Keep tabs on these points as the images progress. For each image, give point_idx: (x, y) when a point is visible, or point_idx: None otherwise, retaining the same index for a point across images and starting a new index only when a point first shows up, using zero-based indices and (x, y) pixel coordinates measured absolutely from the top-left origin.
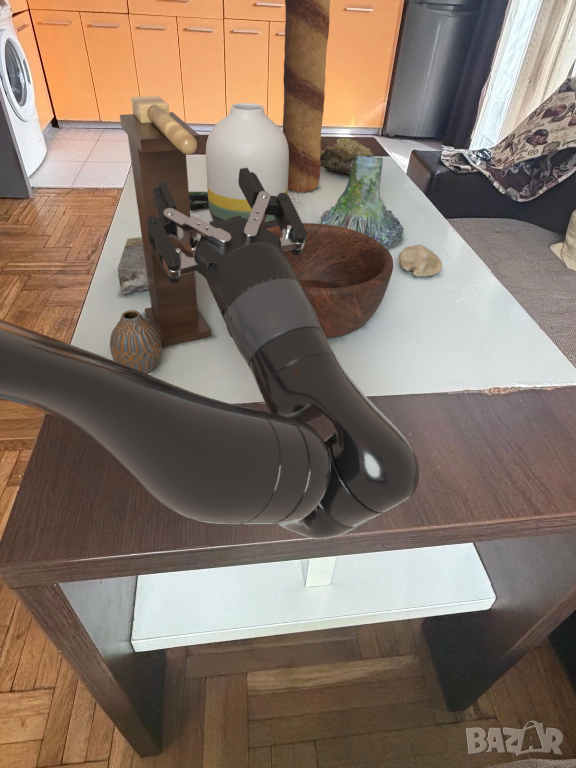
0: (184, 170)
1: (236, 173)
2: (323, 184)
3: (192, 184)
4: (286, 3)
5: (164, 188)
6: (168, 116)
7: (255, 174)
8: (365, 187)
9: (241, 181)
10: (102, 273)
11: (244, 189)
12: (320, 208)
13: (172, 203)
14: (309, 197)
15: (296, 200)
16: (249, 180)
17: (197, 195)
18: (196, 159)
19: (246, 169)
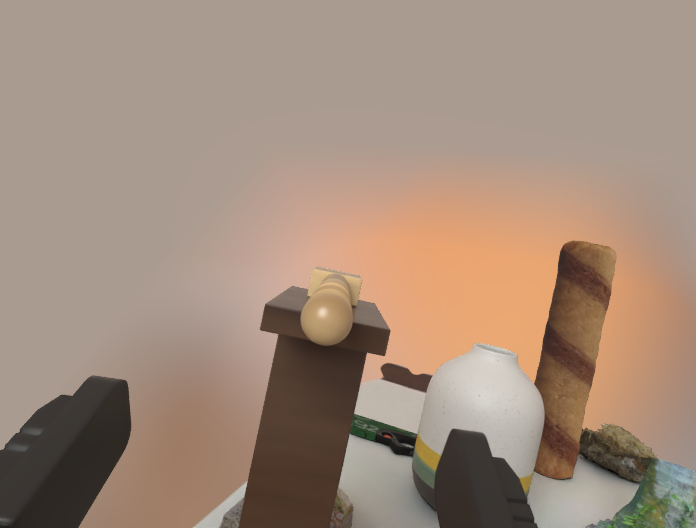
0: (352, 393)
1: (461, 426)
2: (579, 475)
3: (408, 421)
4: (559, 269)
5: (81, 409)
6: (338, 280)
7: (515, 473)
8: (673, 514)
9: (446, 481)
10: (222, 505)
11: (450, 523)
12: (577, 513)
13: (17, 498)
14: (559, 488)
15: (539, 486)
16: (482, 498)
17: (407, 436)
18: (423, 397)
19: (478, 440)
